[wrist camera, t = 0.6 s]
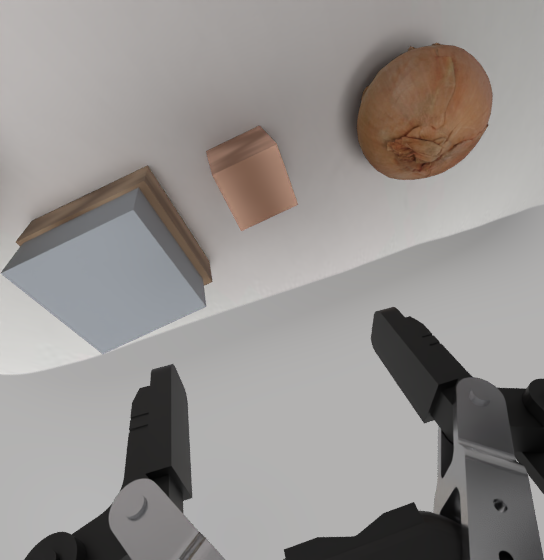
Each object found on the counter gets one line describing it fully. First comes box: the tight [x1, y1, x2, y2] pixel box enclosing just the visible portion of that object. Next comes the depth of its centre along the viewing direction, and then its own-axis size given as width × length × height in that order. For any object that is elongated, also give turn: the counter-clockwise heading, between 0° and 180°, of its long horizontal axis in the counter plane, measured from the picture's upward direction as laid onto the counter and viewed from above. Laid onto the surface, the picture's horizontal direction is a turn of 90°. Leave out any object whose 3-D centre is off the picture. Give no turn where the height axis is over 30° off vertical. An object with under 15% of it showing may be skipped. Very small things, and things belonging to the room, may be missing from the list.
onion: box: [357, 43, 492, 180], centre depth 25 cm, size 10×9×10 cm
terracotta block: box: [206, 126, 298, 231], centre depth 26 cm, size 5×5×6 cm
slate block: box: [1, 187, 206, 354], centre depth 26 cm, size 10×10×4 cm
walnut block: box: [16, 166, 212, 285], centre depth 29 cm, size 11×11×4 cm
